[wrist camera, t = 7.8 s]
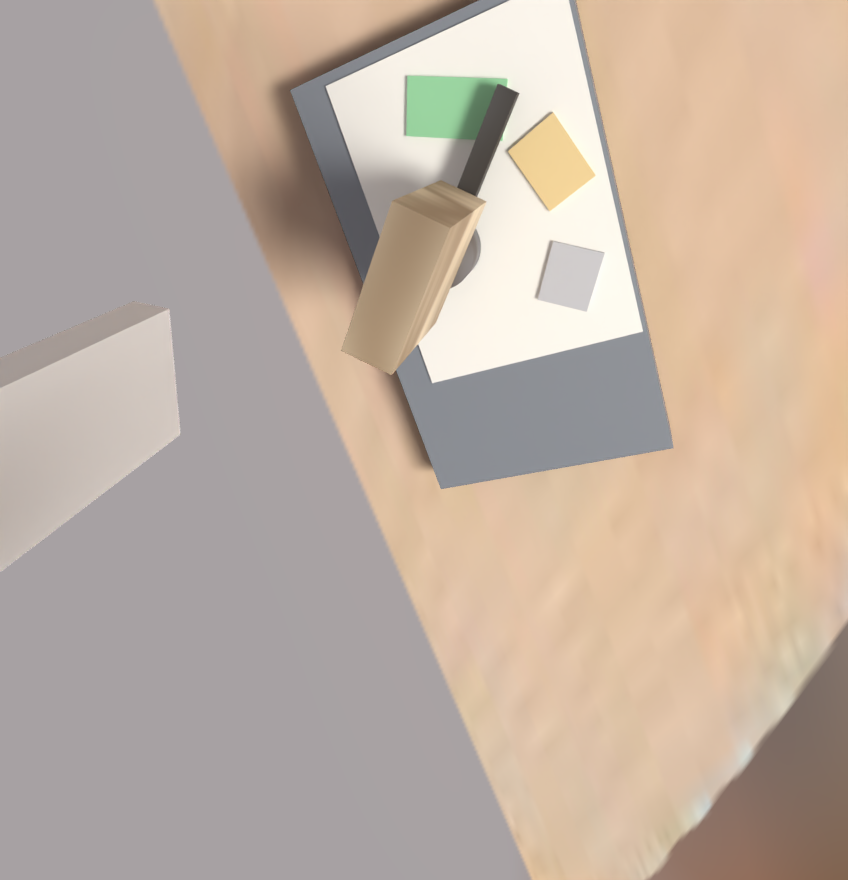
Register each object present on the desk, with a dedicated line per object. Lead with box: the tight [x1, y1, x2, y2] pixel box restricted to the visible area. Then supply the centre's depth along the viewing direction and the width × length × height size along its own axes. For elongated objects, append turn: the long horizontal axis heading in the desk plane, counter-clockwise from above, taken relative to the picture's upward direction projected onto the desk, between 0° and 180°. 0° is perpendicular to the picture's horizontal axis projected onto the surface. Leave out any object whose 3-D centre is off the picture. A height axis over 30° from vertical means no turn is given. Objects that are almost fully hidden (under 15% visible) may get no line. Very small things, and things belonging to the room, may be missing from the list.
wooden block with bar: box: [341, 84, 520, 375], centre depth 26 cm, size 3×10×9 cm, turn 158°
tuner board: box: [290, 0, 673, 489], centre depth 32 cm, size 22×13×2 cm, turn 20°
